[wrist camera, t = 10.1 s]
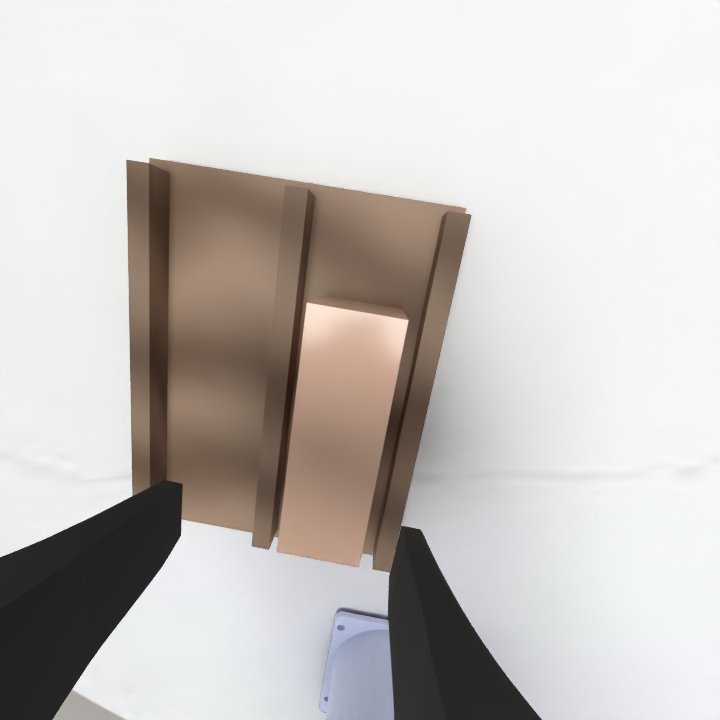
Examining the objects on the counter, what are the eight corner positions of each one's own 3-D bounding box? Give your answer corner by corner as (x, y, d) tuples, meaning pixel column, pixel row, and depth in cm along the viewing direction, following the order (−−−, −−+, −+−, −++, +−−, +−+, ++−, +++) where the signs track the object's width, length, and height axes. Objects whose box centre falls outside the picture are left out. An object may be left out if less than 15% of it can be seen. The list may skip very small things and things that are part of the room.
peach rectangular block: (363, 510, 20) (358, 567, 16) (297, 498, 20) (276, 551, 16) (403, 309, 17) (408, 320, 13) (324, 295, 17) (306, 302, 13)
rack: (388, 542, 22) (388, 579, 19) (162, 500, 22) (133, 531, 20) (460, 212, 17) (474, 201, 14) (165, 165, 17) (126, 146, 15)
